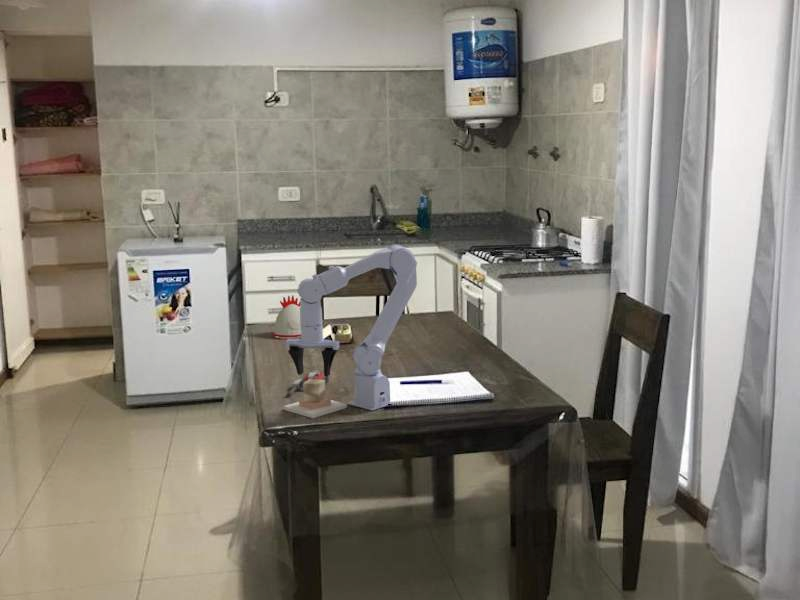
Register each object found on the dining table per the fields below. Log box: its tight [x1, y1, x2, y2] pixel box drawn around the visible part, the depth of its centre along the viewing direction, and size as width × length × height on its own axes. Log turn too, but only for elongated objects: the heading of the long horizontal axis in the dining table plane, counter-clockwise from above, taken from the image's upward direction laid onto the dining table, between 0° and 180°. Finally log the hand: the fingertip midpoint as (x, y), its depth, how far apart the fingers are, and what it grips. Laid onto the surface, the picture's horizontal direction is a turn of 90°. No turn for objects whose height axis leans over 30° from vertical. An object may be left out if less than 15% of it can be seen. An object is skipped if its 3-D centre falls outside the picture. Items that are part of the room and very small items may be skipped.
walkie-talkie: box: [287, 370, 330, 396], centre depth 269 cm, size 9×4×20 cm
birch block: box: [303, 379, 327, 402], centre depth 248 cm, size 4×4×5 cm
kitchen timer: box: [273, 294, 301, 337], centre depth 342 cm, size 14×14×15 cm
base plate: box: [282, 397, 348, 419], centre depth 248 cm, size 12×12×2 cm
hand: (313, 374), depth 247 cm, fingers open, 7 cm apart
